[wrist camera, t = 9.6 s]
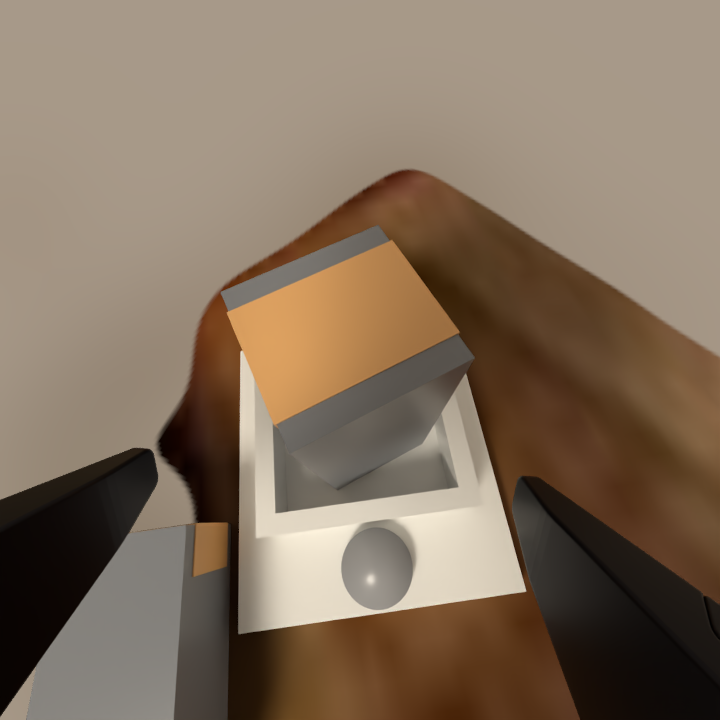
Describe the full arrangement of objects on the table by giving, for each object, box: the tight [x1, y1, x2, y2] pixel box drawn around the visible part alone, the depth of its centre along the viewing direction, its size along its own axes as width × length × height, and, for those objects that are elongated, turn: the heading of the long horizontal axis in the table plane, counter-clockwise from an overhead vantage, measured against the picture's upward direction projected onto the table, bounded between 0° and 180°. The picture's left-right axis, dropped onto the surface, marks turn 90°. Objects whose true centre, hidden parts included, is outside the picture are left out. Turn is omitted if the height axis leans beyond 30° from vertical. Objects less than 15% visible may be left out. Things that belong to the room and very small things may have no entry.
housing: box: [238, 351, 526, 634], centre depth 17 cm, size 13×12×3 cm
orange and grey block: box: [221, 225, 475, 490], centre depth 13 cm, size 5×5×10 cm
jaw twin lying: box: [26, 522, 231, 720], centre depth 13 cm, size 10×5×5 cm, turn 7°
